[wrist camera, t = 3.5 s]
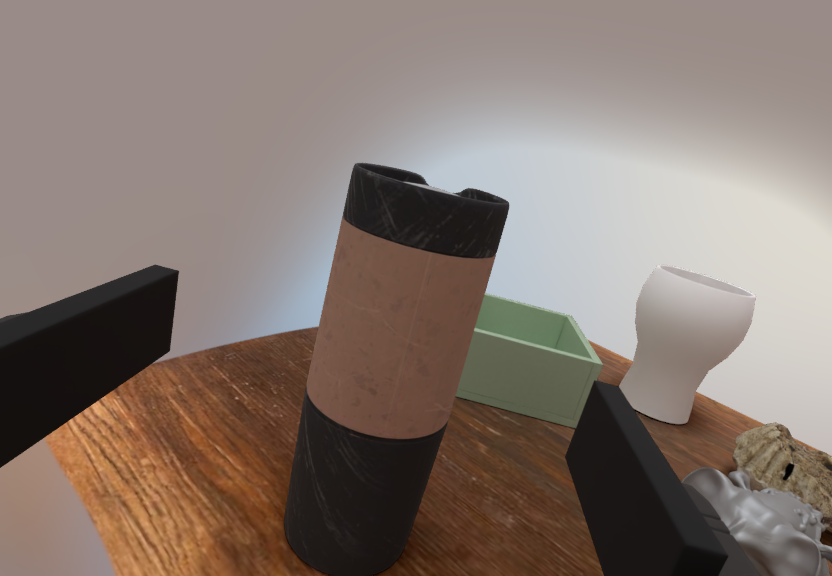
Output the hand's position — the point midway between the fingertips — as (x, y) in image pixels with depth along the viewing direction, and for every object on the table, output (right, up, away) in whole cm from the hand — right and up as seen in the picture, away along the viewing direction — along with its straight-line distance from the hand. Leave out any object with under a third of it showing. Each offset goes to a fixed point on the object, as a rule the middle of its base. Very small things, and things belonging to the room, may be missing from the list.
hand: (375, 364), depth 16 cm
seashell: (+33, -16, +28) cm, 46 cm away
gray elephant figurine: (+20, -17, +15) cm, 30 cm away
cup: (+28, -11, +41) cm, 51 cm away
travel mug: (-3, -12, +14) cm, 18 cm away
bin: (+10, -7, +38) cm, 40 cm away
